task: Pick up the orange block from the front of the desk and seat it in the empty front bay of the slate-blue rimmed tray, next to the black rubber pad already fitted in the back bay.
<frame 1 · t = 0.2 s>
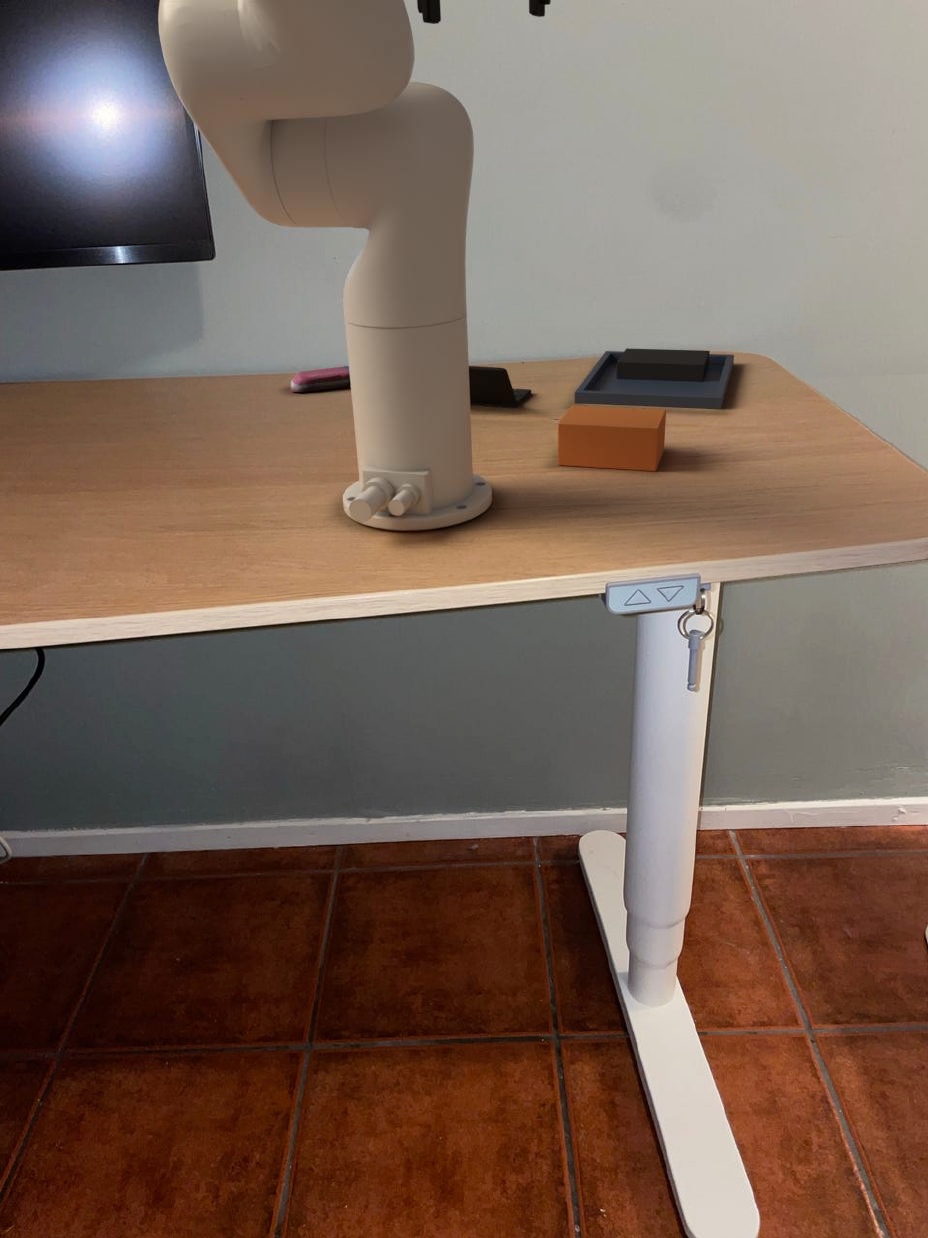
hand: (483, 19, 88), 37 cm above the table, tool pointing down, fingers open, 9 cm apart
pad tray: (657, 386, 115), on the table
eraser: (337, 387, 122), on the table
orange block: (611, 457, 94), on the table
rubber pad: (663, 372, 119), resting on pad tray
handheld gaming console: (473, 407, 111), on the table
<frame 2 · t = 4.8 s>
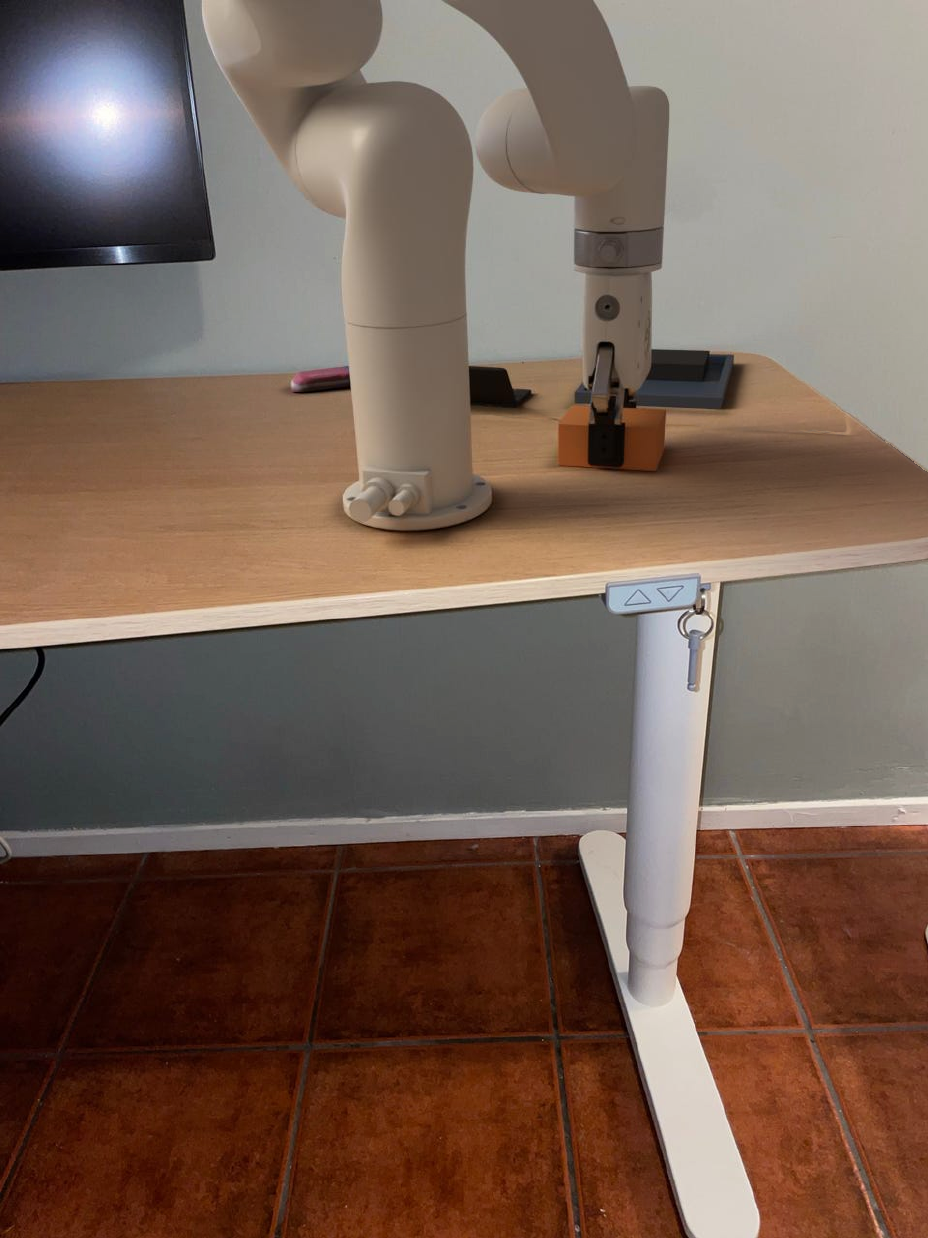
hand: (612, 451, 93), 1 cm above the table, tool pointing down, fingers closed on orange block, 6 cm apart
orange block: (611, 458, 94), on the table, touching gripper
everything else where it was.
when the fingers open (1 cm above the table, at t = 12.3 s): orange block stays where it is, resting on pad tray.
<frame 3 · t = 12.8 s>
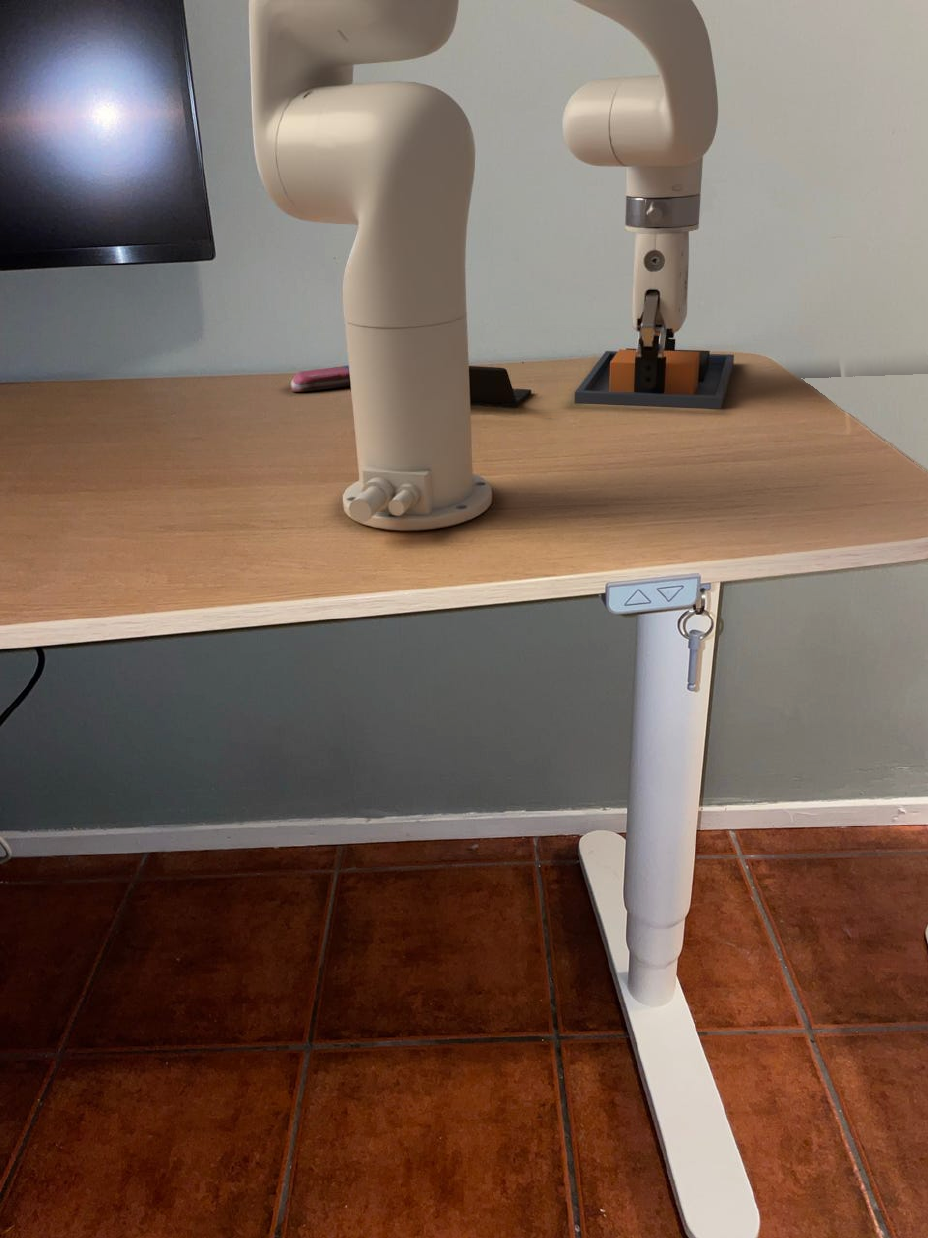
hand: (654, 382, 111), 2 cm above the table, tool pointing down, fingers open, 7 cm apart
orange block: (653, 392, 111), resting on pad tray
everything else where it was.
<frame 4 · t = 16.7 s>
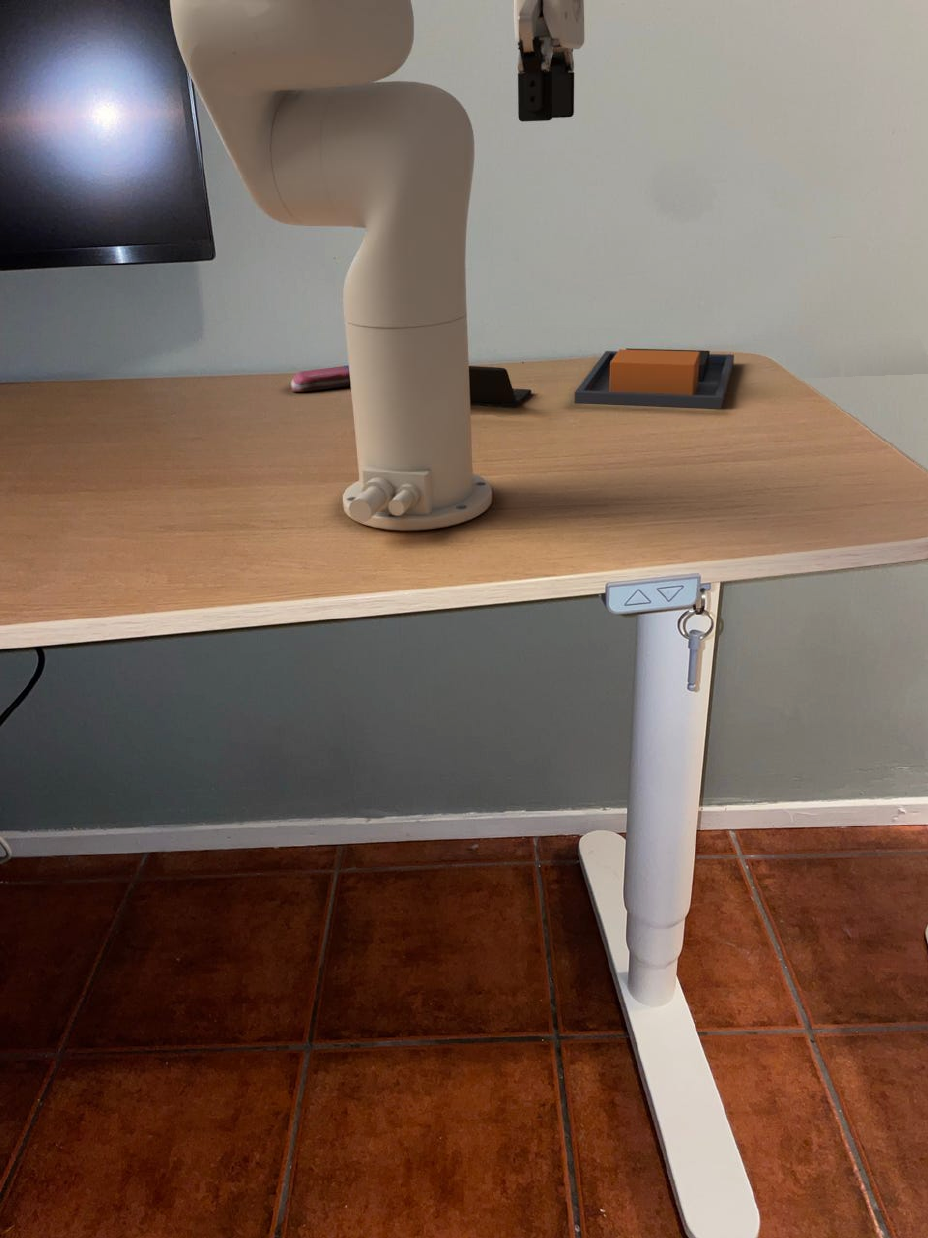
hand: (547, 118, 98), 28 cm above the table, tool pointing down, fingers open, 9 cm apart
nothing on the table moved.
at the end: orange block 0.1 cm from the target spot in the pad tray, point 0.5 cm above the pad tray's base; orange block tilted 0°; the gripper is holding nothing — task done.
